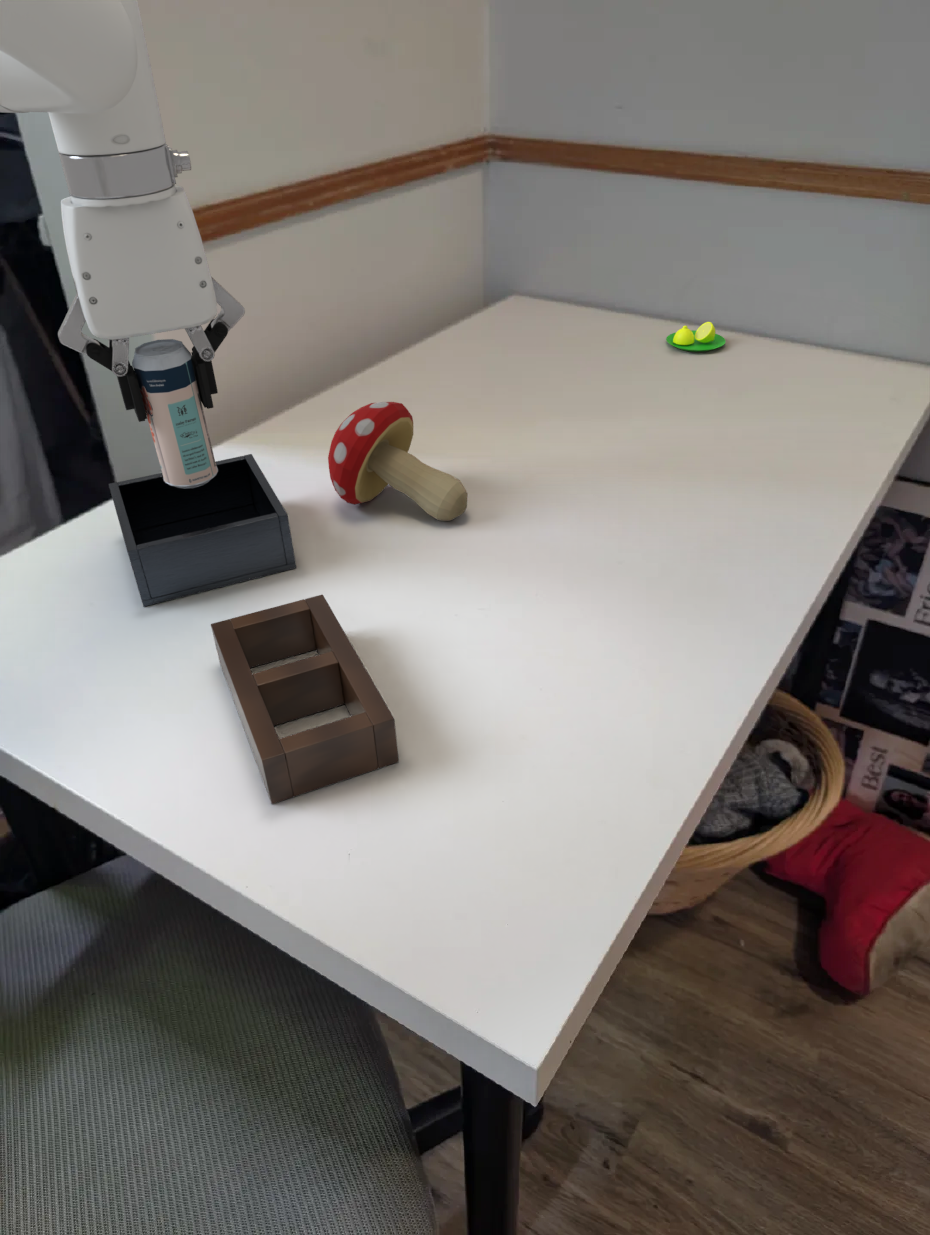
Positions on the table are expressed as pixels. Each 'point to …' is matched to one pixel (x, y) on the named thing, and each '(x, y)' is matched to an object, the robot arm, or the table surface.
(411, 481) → the decorative mushroom
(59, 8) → the robot arm
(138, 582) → the dark grey open box
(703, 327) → the lemon
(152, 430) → the beer can
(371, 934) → the table surface
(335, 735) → the rack
